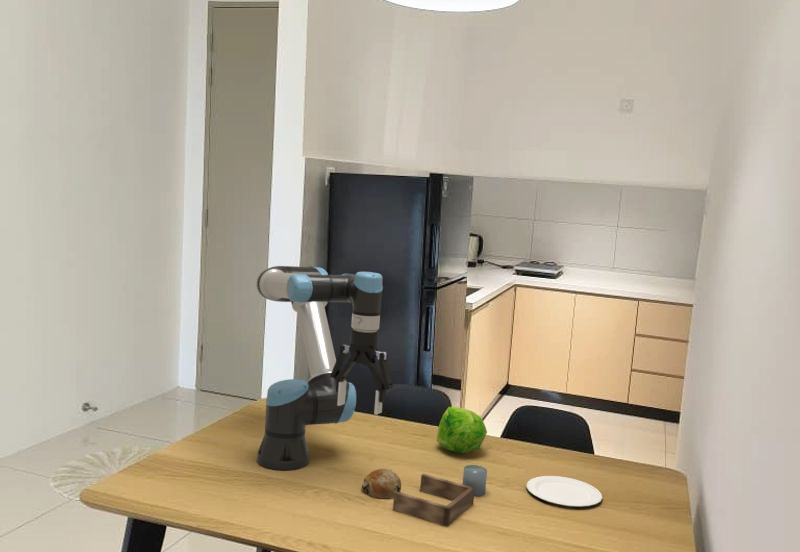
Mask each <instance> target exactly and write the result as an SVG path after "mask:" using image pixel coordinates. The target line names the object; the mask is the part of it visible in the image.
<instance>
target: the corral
mask: <svg viewBox="0 0 800 552" xmlns="http://www.w3.org/2000/svg"><path fill="white" fill-rule="evenodd" d="M462 484H463V483H462ZM462 484H461V483H459V482H455V481H451V480H448V479H443V478H439V477H436V476H433V475H428V474H426V473H422V474H421V475H420V487H419V491H420V492H422V493H426V494H430V495H432V496H436V497H440V498H443V499H447V500H450V502H449V503H448V504H446V505H444V504H442V503H438V502H435V501H431V500H428V499H424V498H420V497H418V496H414V495H410V494H407V493H405V492H404V493H403V492H401V491H400V492H397V491H396V492H395V493H394V497H393V501H392V502H393V504H392V510H393V511H395V512H398V513H401V514H404V515H407V516H412V517H416V518H418V519H421V520H425V521H428V522H431V523H434V524H437V525H441V526H444V527H449V526H450V525H451V524H452V523H453V522H454V521H456V520H457V519H458V518H460V516H461V515H463V513H465V512H466V511H467V510H469V509H470V508H471V507H472V506H473V505H474V501H475V500H474V499H475V497H474V490H475V488H473V487H470V486H466V485H462Z"/></svg>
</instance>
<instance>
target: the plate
mask: <svg viewBox="0 0 800 552" xmlns="http://www.w3.org/2000/svg"><path fill="white" fill-rule="evenodd" d="M526 489H527V491H528V492H529V493H530V494H531V495H532V496H533V497H536V498H538V499H539V500H542V501H545V502H547V503H550V504H554V505H557V506H562V507H568V508H569V507H571V508H586V507H588V508H589V507H592V506H596V505H597V504H599V503H601V502H602V500H603V495H602V493H601V492H600V491H599V489H597V488H596V487H594V486H593V485H591V484H589V483H587V482H585V481H583V480H582V481H581V480H579V479H575V478H571V477H565V476H557V475H542V476H538V477H533V478H531V479H529V480H528V481H527V483H526Z"/></svg>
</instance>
